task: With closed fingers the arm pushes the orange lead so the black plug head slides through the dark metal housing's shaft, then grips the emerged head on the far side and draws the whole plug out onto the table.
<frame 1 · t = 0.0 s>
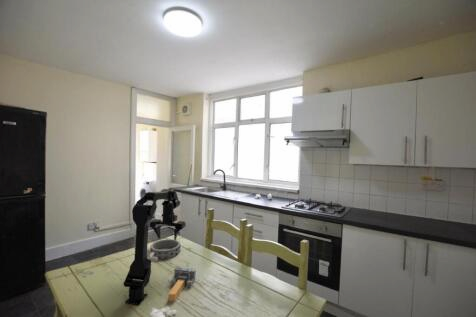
hand: (167, 239, 120), 15 cm above the table, fingers open, 9 cm apart
housing: (183, 282, 105), on the table
plug: (179, 289, 99), on the table
pipe connector: (148, 267, 118), on the table
grey round bowl: (165, 252, 136), on the table
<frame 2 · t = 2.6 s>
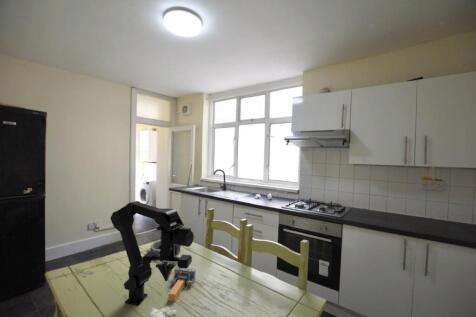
hand: (166, 280, 86), 12 cm above the table, fingers closed
nothing on the table moved.
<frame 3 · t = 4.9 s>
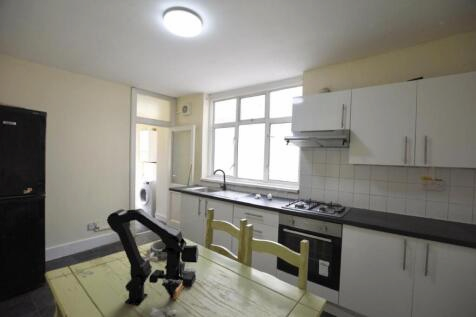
hand: (172, 297, 92), 1 cm above the table, fingers closed, pressing on plug
plug: (180, 287, 101), on the table, touching gripper
everything else where it was.
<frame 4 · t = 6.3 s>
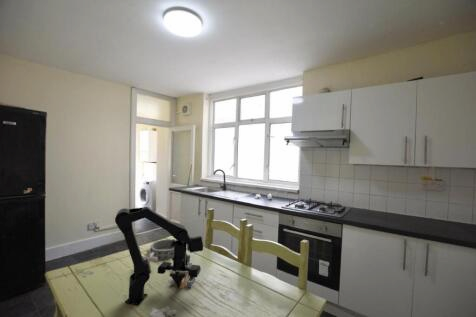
hand: (178, 287, 99), 1 cm above the table, fingers closed
plug: (184, 278, 108), on the table, touching gripper
everything else where it was.
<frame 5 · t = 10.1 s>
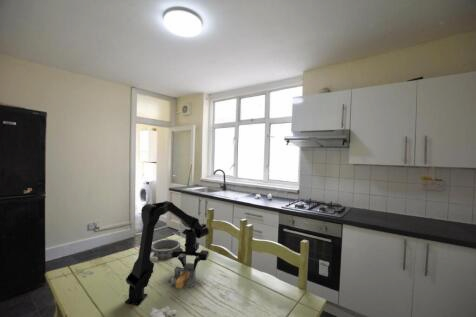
hand: (189, 269, 114), 1 cm above the table, fingers open, 5 cm apart
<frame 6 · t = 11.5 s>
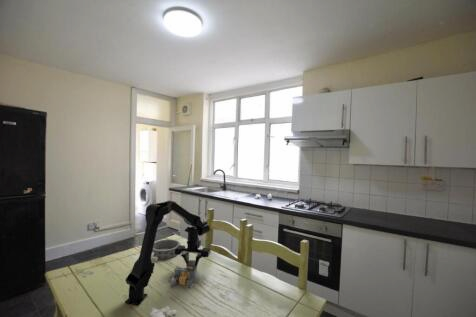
hand: (192, 266, 117), 1 cm above the table, fingers closed on plug, 4 cm apart
plug: (188, 275, 111), on the table, touching gripper
everything else where it was.
when the fingers open (1 cm above the table, at t = 12.7 s): plug stays where it is, on the table.
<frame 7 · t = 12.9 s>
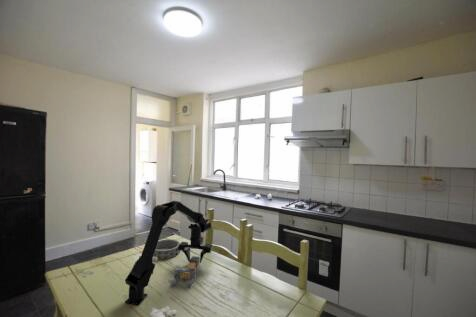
hand: (195, 262, 122), 1 cm above the table, fingers open, 6 cm apart
plug: (191, 270, 116), on the table
everything else where it was.
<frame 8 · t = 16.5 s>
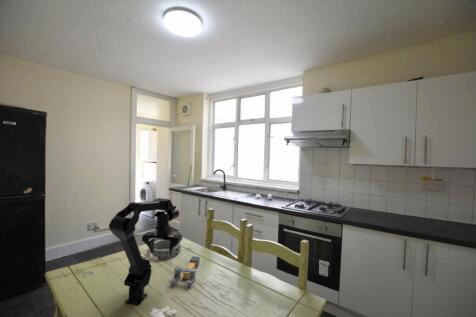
hand: (161, 254, 107), 12 cm above the table, fingers open, 9 cm apart
nothing on the table moved.
at the end: plug inside the target area (4.6 cm from its centre), on the table; plug touching table; the gripper is holding nothing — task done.
